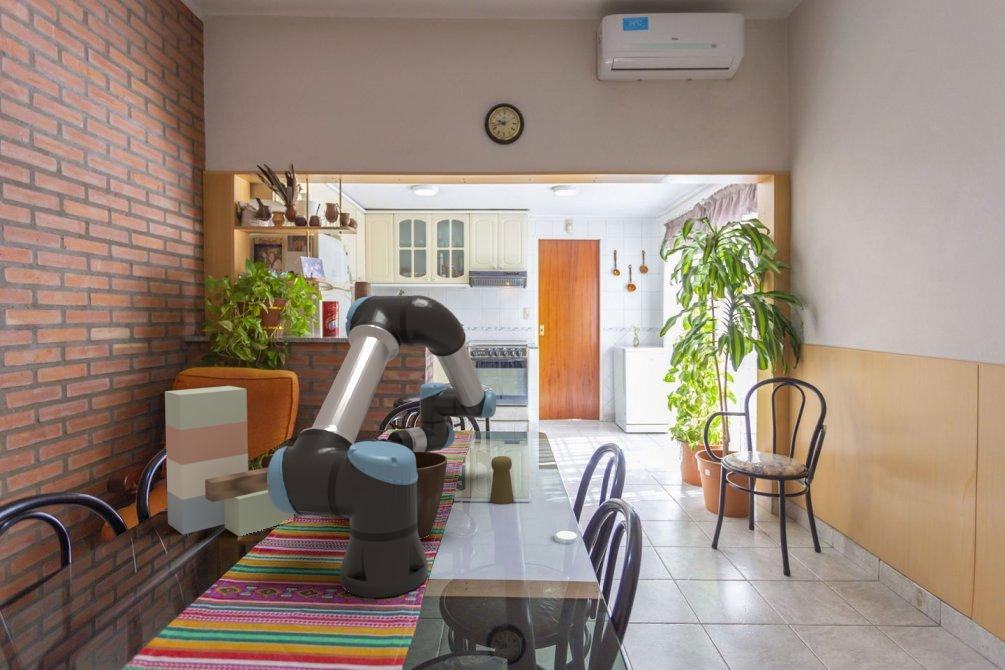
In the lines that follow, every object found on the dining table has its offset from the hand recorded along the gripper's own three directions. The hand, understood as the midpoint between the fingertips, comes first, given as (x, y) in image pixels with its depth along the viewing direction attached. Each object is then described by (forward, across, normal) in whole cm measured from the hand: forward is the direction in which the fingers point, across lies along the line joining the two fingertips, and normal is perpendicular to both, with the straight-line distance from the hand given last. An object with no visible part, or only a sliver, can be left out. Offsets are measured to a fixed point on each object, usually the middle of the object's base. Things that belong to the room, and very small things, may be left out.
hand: (337, 457), depth 140 cm
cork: (-29, -29, -12) cm, 43 cm away
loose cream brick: (+20, 0, -12) cm, 23 cm away
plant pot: (0, -30, -12) cm, 33 cm away
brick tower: (+26, +11, -12) cm, 31 cm away
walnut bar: (+17, 0, -4) cm, 17 cm away
